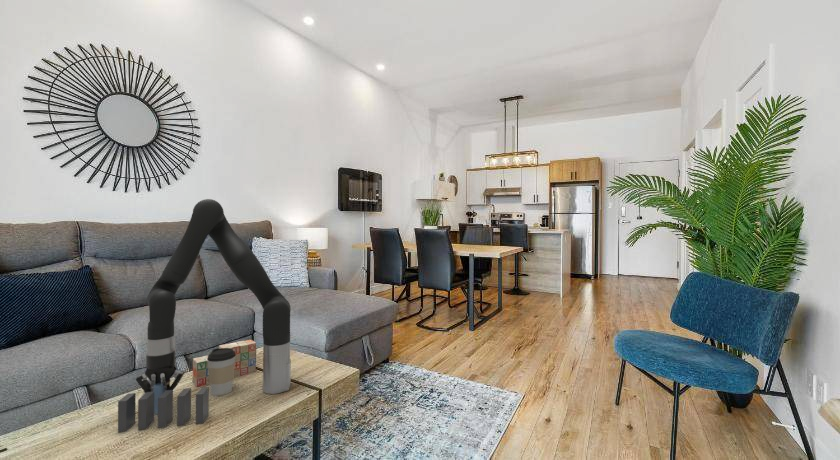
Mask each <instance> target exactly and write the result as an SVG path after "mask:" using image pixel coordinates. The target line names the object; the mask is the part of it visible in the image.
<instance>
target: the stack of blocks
mask: <svg viewBox="0 0 840 460" xmlns="http://www.w3.org/2000/svg"><path fill="white" fill-rule="evenodd" d="M218 348H219V349H221V348H231V349H232V350H233V351H235V354H236V356H235V368H234V378H238V377H241V376H246V375H249V374H253V373H256V372H257V342H256V341H254V340H253V339H247V340H239V341H236V342H231V343H225V344H220V345H218ZM208 355H209V354H208ZM208 355H203V356H200V357H199V356H198V357H195V358H194V357H193V358H192V383H193V385H194V386H195V387H196V388H198V387H203V386H205V385H210V383H209V373H208V360H207V358H208Z"/></svg>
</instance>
